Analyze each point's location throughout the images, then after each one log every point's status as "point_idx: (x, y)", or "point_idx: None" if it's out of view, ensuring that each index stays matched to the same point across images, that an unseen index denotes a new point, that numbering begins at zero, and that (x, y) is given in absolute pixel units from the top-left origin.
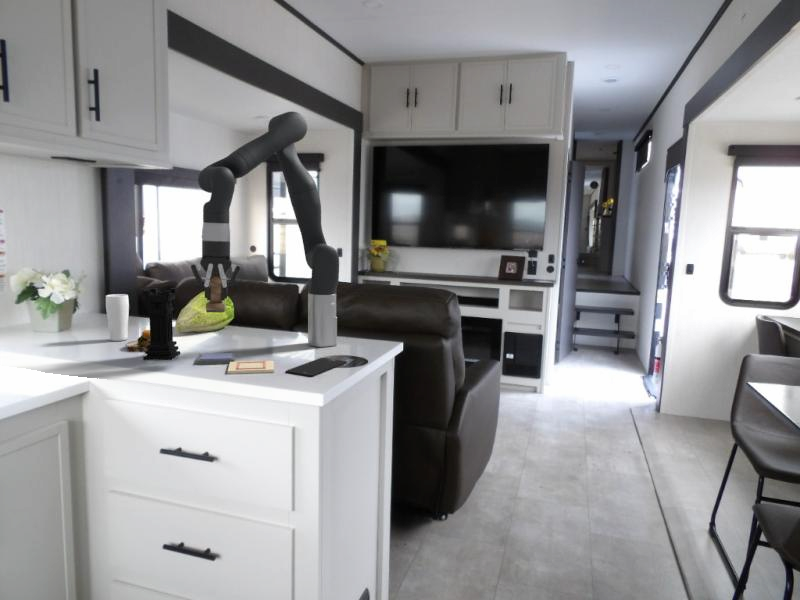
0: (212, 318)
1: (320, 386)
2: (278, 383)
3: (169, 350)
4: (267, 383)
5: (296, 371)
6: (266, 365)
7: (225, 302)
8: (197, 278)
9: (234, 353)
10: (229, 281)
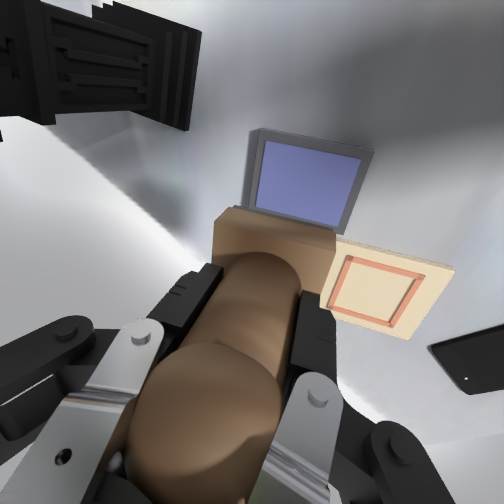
0: None
1: (442, 429)
2: (379, 388)
3: (166, 107)
4: (360, 380)
5: (453, 364)
6: (407, 306)
7: (323, 286)
8: (31, 416)
9: (368, 156)
10: (350, 490)
